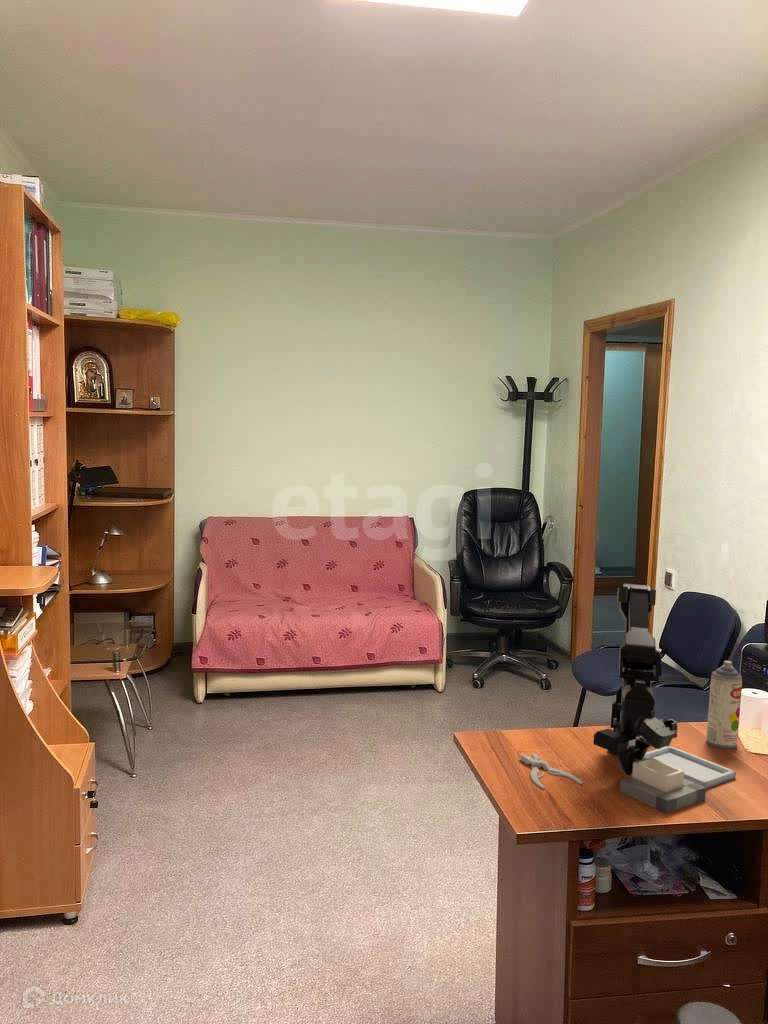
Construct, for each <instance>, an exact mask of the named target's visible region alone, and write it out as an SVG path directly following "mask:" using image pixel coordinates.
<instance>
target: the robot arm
mask: <svg viewBox="0 0 768 1024" xmlns="http://www.w3.org/2000/svg"><path fill="white" fill-rule="evenodd" d="M622 585H623V586H619V587H617V593H616V594H617V595H616V597H617V598H616V603H619V612H620V614H621V617H623V620H624V622H625V631H624V632H625V633H624V635H623V637H624V638H623V645H620V646H619V661H618V663H619V665H618V666H619V667H618V677H619V678H621V679H622V685H620V687H619V689H618V690H617V692H616V693H615V695H614V700H613V701H611V707H610V717H609V720H610V721H609V723H610V724H609V725H610V726H609V727H610V728H611V729H610V728H605V729H602V730H601V729H600V730H597V731H596V732H595V733H594V734H593V740H592V744H593V745H595V746H597V747H600V748H602V749H604V750H607V752H608V753H611V754H613V755H616V756H617V758H618V760H620V763H621V765H622V767H623V770H622V771H623V772H624V774H625V775H626V776H627V777H631V775H632V774H631V771H632V765H633V758H634V757H635V758H637V759H640V760H642V759H643V757H644V755H645V753H646V752H648V750H649V749H650V748H652V747H653V748H654V749H655V750H656V749H661V748H663V747H668V746H671V743H672V740H673V739H676V738H678V722H677V721H676V720H675V719H673V718H669V719H665V720H663V718H662V719H658V718H657V717H656V711H655V704H656V703H655V698H654V693H653V689H652V682H658V683H659V682H660V681H659V679H660V677H662V674H663V673H662V666H663V665H662V654H661V653H660V652H661V651H660V650H659V649H658V648H657V647H656V637H654V636H653V635H652V633H650V628H649V627H650V625H649V624H650V623H649V621H650V619H649V617H650V614H651V612H652V607H655V606H656V603H657V602H656V601H657V600H656V599H657V589H653V588H651V585H647V584H646V585H645V584H637V583H636V584H635V583H623V584H622ZM653 671H654V672H653Z"/></svg>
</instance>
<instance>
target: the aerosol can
mask: <svg viewBox="0 0 768 1024" xmlns="http://www.w3.org/2000/svg"><path fill="white" fill-rule="evenodd" d="M742 678H743V676H742V675H741V674H740V673H739V672H738V670H736V668H735V667H734V666H733V662H732V661H731V660H724V661H723V665H721V666H720V667H717V669H716V670H713V671H712V674H711V676H710V689H709V701H708V713H707V726H706V739H705V741H706V743H707V744H709V745H711V746H713V747H715V748H719V749H726V750H732V749H736V748H738V747H737V746H738V737H739V725H740V716H741V715H740V712H741V701H742V700H741V699H742V688H743V679H742Z"/></svg>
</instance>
